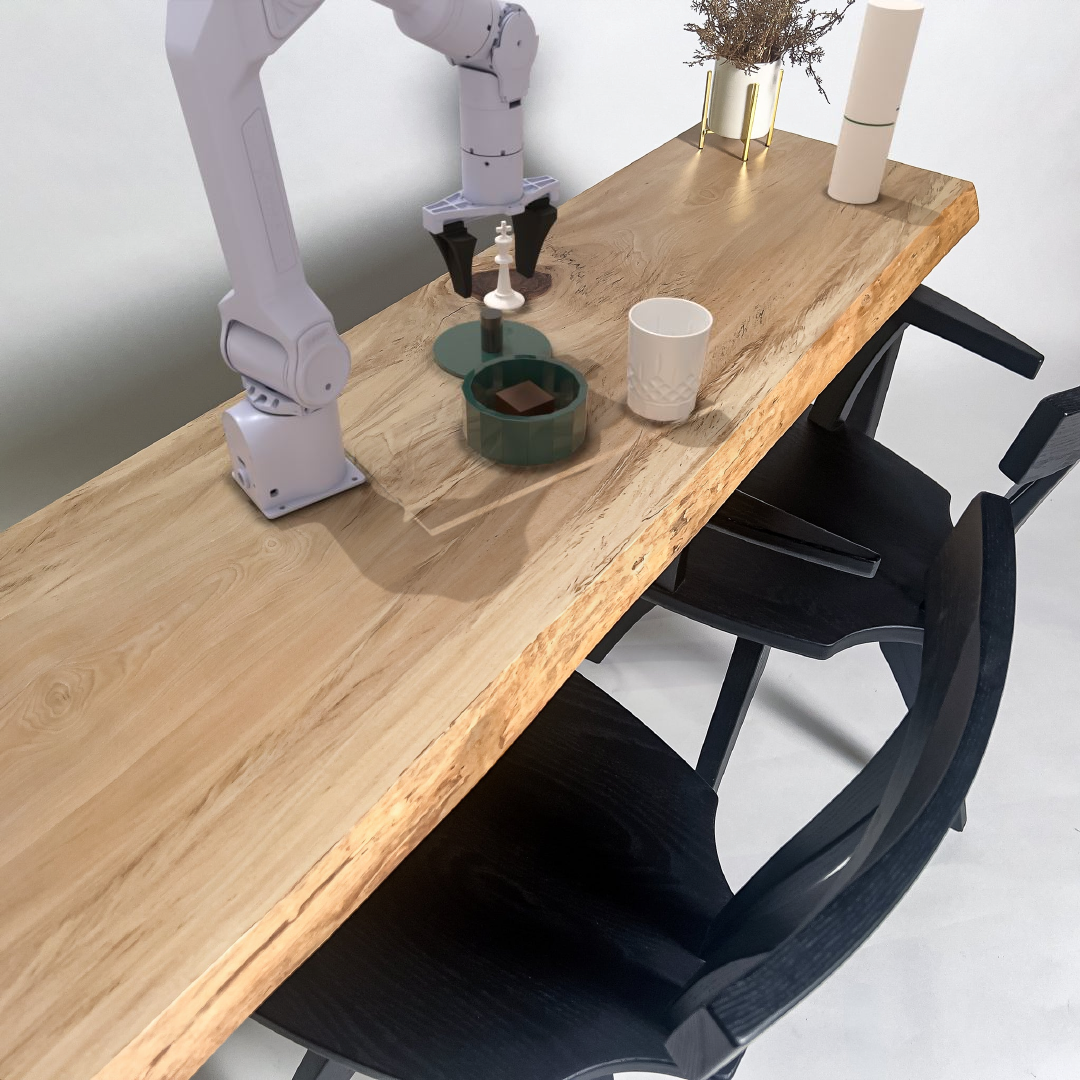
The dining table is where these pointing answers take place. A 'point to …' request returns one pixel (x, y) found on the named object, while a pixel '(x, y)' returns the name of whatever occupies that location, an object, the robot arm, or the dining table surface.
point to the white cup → (666, 357)
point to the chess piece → (504, 275)
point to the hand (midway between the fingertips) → (494, 284)
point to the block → (524, 401)
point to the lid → (486, 342)
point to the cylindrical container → (874, 98)
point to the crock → (518, 434)
